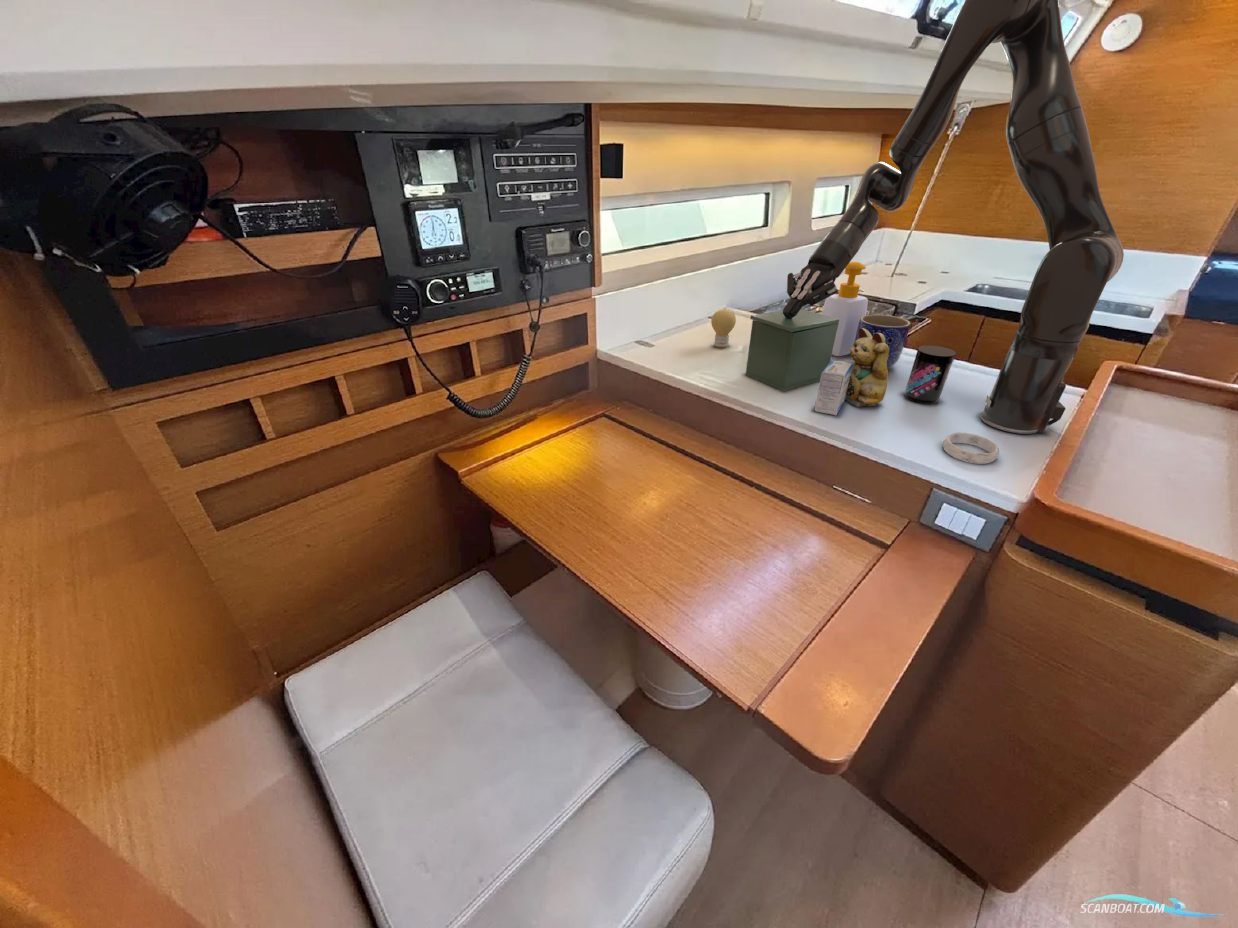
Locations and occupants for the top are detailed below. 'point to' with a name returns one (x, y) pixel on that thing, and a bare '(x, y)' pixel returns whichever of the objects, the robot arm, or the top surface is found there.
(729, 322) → the light bulb
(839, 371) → the medicine box
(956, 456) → the ring
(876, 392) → the decorative figurine
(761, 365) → the tin
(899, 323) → the planter
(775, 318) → the green square lid
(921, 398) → the supplement container
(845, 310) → the soap bottle
